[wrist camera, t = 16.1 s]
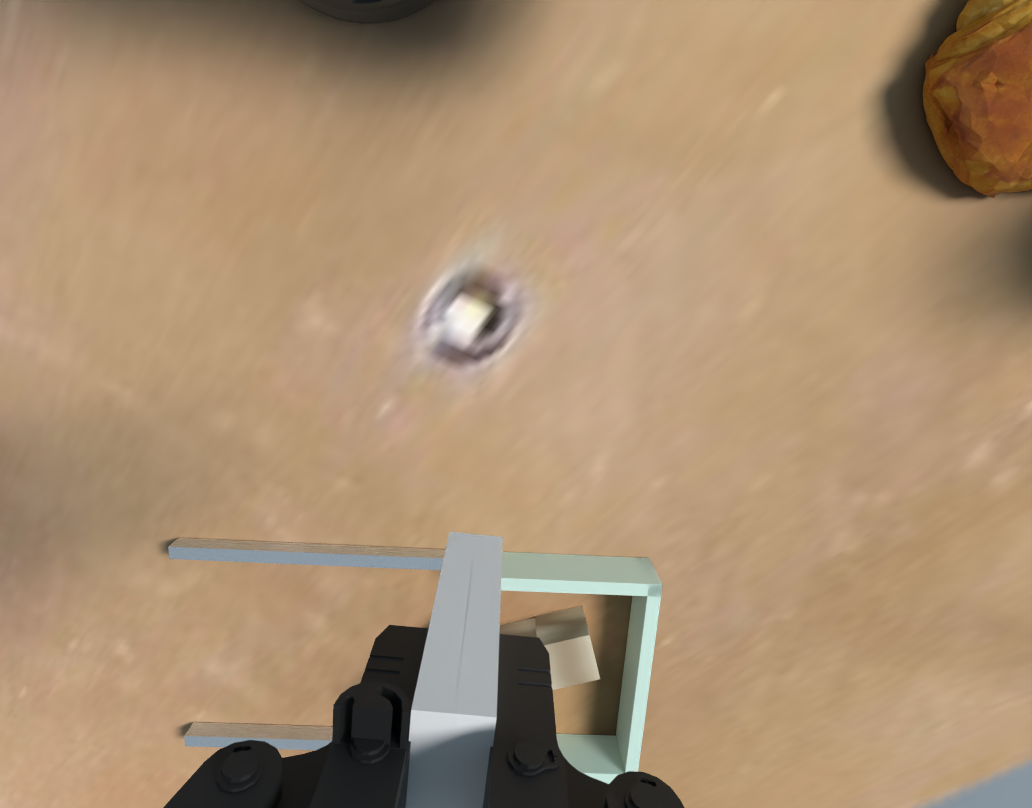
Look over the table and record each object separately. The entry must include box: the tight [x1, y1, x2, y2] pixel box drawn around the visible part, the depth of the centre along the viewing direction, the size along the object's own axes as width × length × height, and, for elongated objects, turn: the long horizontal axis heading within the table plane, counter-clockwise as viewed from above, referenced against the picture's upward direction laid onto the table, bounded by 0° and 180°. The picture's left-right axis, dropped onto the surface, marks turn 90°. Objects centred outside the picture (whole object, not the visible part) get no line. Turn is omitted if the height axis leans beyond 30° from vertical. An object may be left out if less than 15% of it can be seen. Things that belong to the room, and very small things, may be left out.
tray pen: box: [501, 552, 662, 784], centre depth 48 cm, size 13×18×4 cm
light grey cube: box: [499, 618, 537, 637], centre depth 47 cm, size 4×4×4 cm
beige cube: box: [535, 606, 600, 690], centre depth 47 cm, size 4×4×4 cm
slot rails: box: [168, 538, 446, 750], centre depth 48 cm, size 24×18×2 cm
